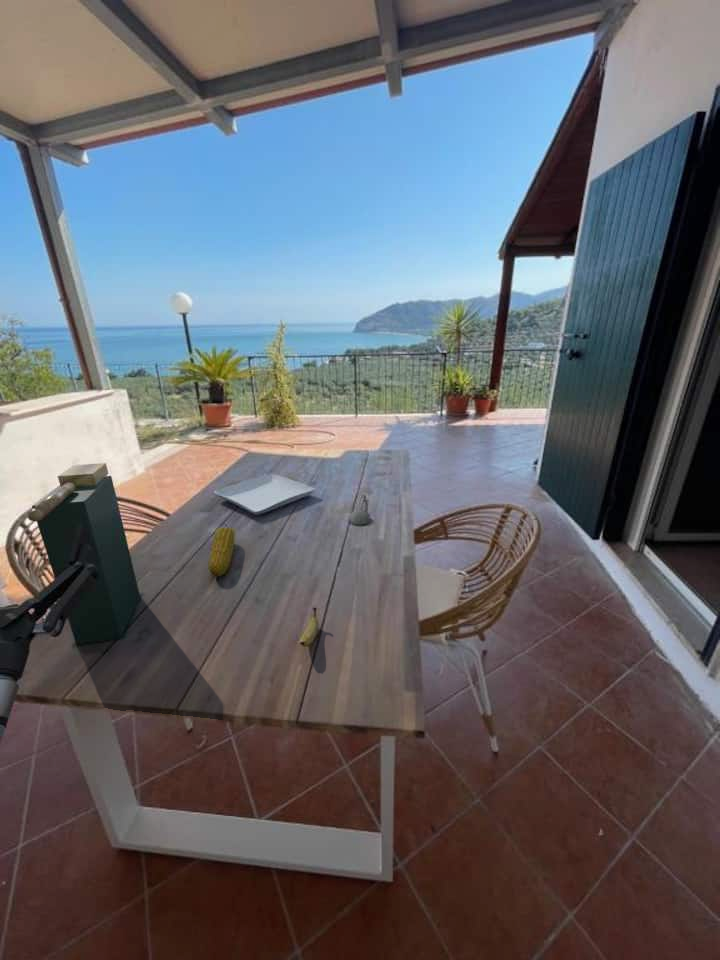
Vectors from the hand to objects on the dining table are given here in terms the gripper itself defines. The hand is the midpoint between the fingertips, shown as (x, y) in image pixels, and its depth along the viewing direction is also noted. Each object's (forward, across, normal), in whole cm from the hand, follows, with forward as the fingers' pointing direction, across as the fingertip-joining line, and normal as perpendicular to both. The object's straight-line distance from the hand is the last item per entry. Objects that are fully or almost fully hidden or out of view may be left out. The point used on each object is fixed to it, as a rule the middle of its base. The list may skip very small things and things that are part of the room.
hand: (34, 533), depth 60 cm
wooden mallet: (+12, 0, +5) cm, 13 cm away
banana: (-15, -41, +24) cm, 50 cm away
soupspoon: (+34, -66, +53) cm, 91 cm away
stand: (-1, 0, +33) cm, 33 cm away
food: (+16, -22, +42) cm, 50 cm away
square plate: (+51, -34, +63) cm, 88 cm away
